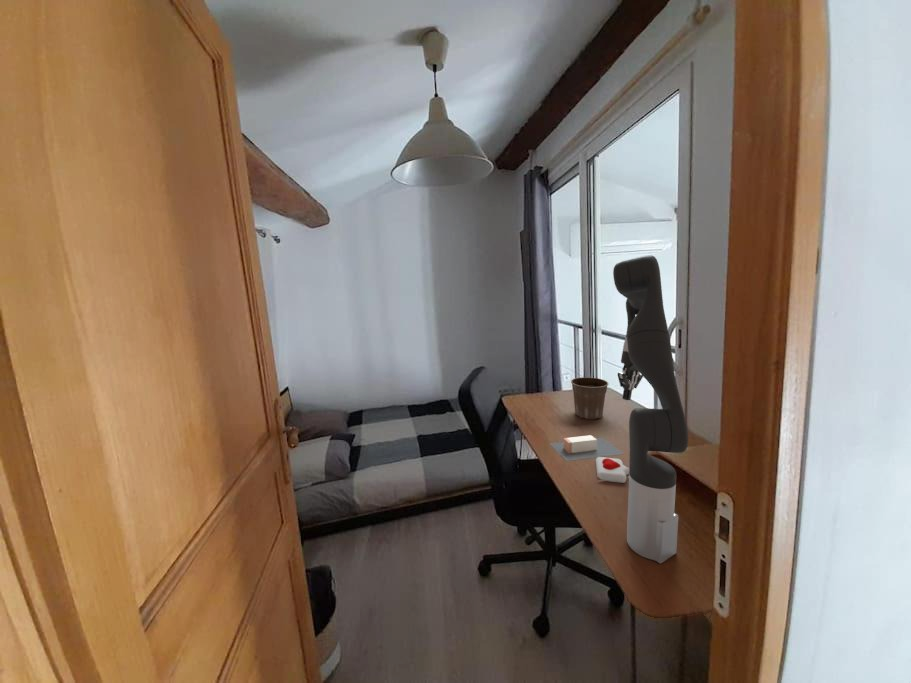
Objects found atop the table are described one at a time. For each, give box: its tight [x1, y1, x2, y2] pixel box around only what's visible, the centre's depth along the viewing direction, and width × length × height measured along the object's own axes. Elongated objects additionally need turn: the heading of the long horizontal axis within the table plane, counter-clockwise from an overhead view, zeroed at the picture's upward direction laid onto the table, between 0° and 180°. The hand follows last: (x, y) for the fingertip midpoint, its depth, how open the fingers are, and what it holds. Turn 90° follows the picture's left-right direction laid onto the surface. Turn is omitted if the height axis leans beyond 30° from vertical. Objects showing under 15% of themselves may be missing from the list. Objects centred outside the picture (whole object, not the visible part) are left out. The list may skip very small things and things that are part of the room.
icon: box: [595, 456, 630, 484], centre depth 112 cm, size 12×4×10 cm
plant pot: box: [570, 376, 609, 420], centre depth 161 cm, size 16×16×16 cm
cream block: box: [563, 434, 597, 453], centre depth 128 cm, size 4×4×11 cm
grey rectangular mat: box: [549, 437, 625, 462], centre depth 129 cm, size 22×14×1 cm, turn 99°
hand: (626, 399), depth 122 cm, fingers closed
